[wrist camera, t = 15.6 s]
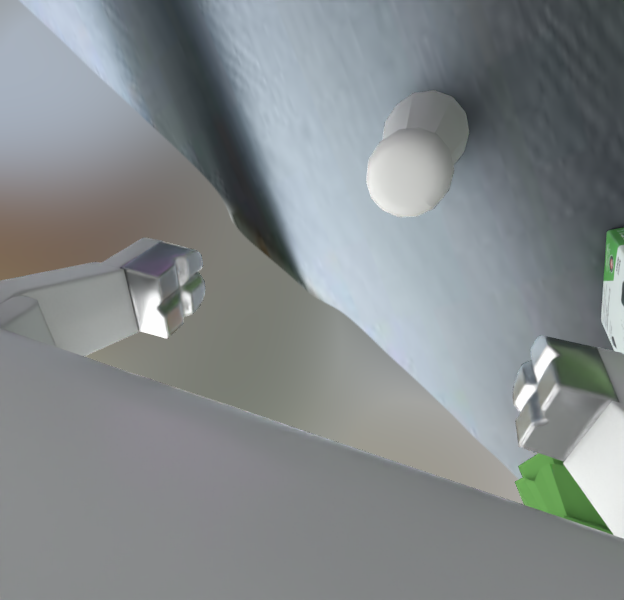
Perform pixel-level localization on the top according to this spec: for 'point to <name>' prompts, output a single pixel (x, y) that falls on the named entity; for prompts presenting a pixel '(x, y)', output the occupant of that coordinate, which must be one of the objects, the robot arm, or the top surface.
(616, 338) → the ink box
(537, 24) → the top surface
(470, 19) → the top surface
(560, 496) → the decorative tree
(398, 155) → the salt shaker
